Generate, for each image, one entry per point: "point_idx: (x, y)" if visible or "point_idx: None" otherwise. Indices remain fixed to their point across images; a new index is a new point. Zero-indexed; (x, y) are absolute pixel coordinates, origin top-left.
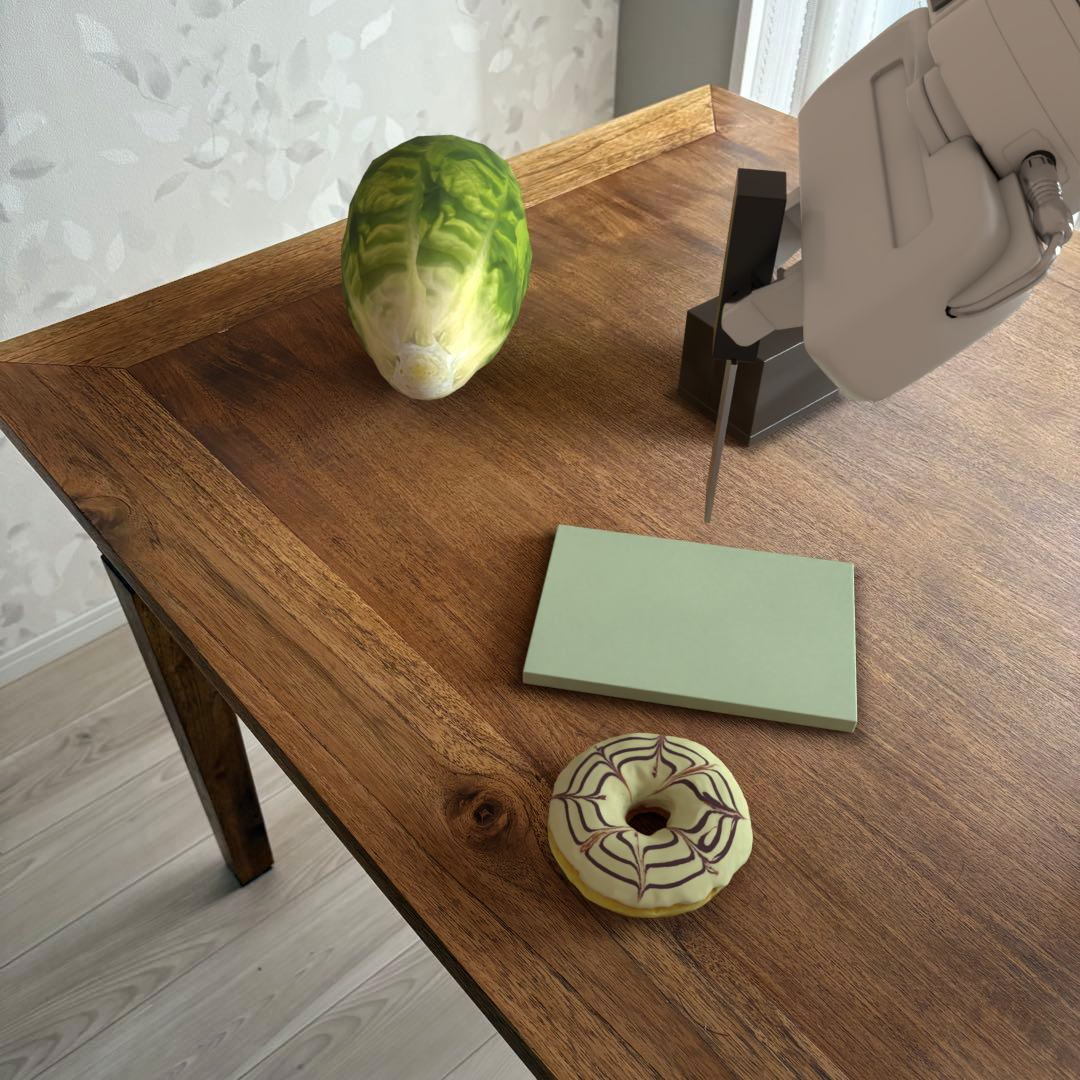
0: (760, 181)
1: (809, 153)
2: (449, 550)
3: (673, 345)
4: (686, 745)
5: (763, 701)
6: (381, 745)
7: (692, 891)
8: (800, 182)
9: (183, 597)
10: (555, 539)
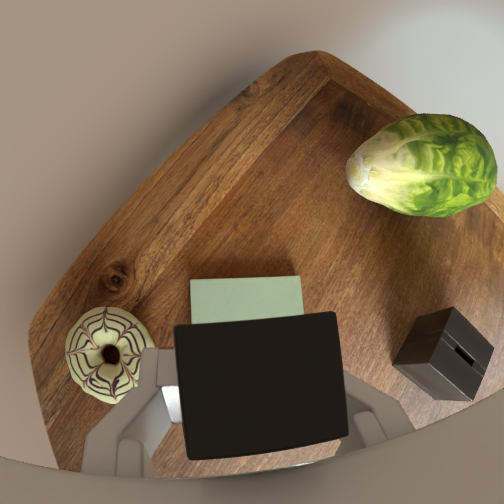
0: (275, 382)
1: (463, 434)
2: (270, 225)
3: (448, 305)
4: None
5: None
6: (143, 226)
7: (73, 376)
8: (387, 444)
9: (210, 127)
10: (287, 276)
